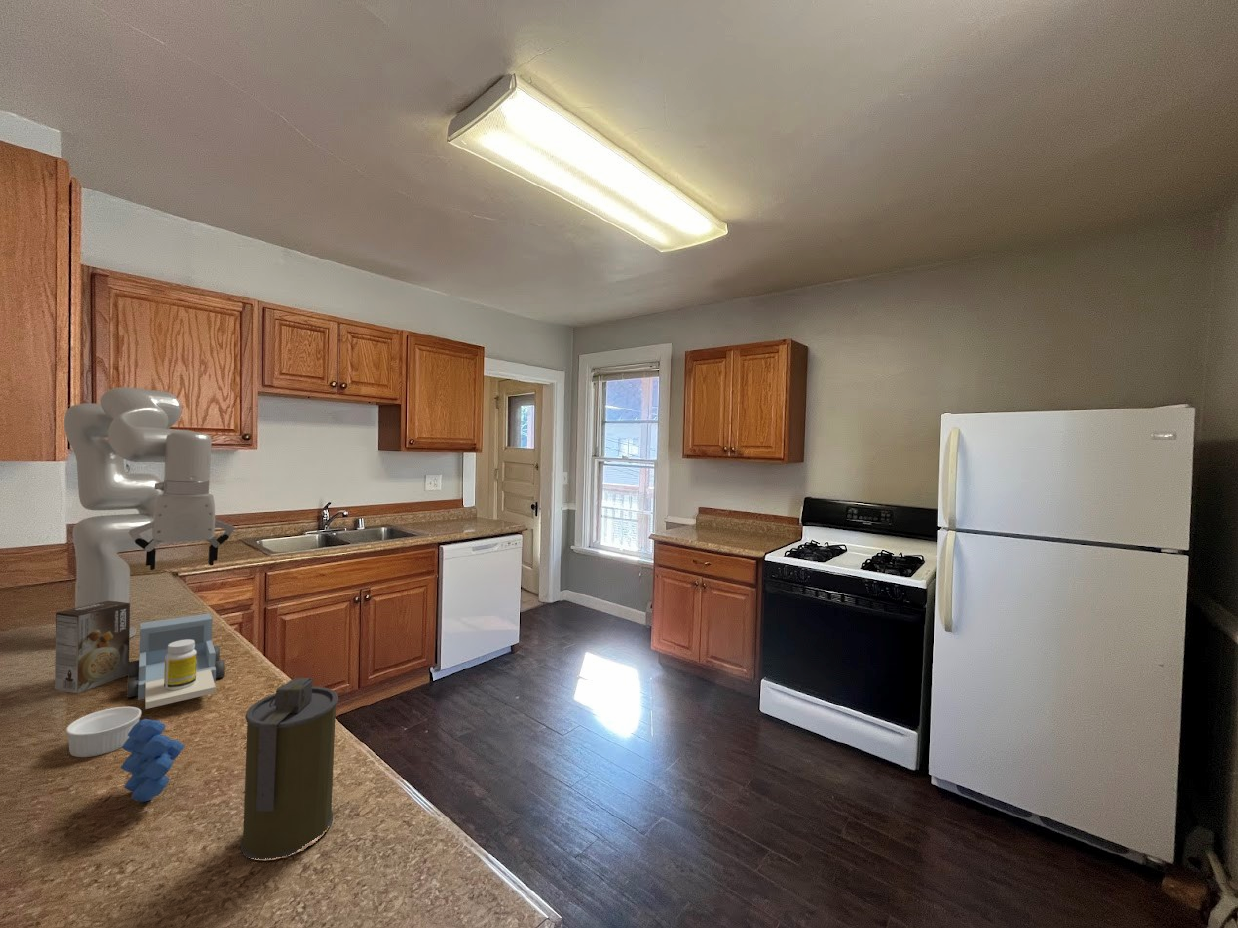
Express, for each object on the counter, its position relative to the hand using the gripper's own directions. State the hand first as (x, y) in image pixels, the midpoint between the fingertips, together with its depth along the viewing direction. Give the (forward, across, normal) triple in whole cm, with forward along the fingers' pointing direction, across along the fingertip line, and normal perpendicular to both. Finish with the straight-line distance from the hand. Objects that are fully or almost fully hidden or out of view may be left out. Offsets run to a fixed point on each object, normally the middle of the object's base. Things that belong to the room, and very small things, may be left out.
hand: (182, 566), depth 108 cm
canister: (+22, +10, -67) cm, 71 cm away
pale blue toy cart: (+24, 0, -1) cm, 24 cm away
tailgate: (+21, 0, -10) cm, 23 cm away
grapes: (+23, -3, -47) cm, 53 cm away
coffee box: (+25, -13, +6) cm, 29 cm away
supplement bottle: (+20, 0, -15) cm, 26 cm away
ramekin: (+24, -10, -25) cm, 36 cm away
